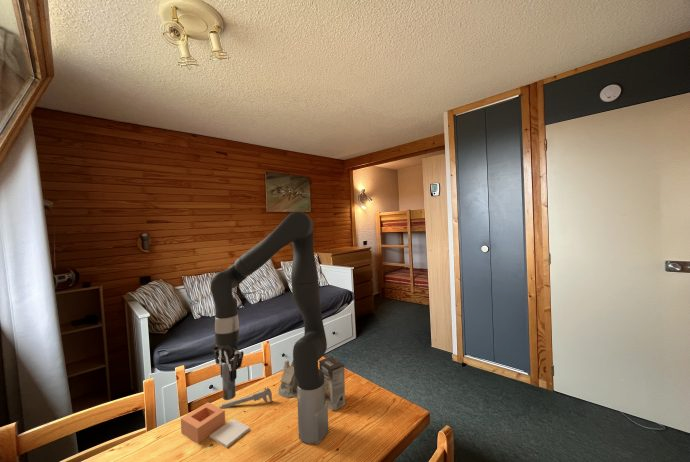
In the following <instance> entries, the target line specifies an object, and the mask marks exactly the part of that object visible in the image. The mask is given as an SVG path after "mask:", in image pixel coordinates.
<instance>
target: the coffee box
mask: <svg viewBox="0 0 690 462" xmlns="http://www.w3.org/2000/svg"><path fill="white" fill-rule="evenodd" d="M318 369H320V370H321V371H323V373H324V385H325V404H327V405H328V409H329V410H331V411H332V412H333V411H336V410H338V409H339V408H342V407H344V406H345V405H346V395H345V394H346V391H345V389H346V388H345V385H346V384H345V383H346V381H345V364H344V363H343V362H341V361H339V360H338V359H336V358H334V357H333V356H330V357H326V358H324V359H319V360H318Z"/></svg>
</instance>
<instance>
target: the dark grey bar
mask: <svg viewBox="0 0 690 462" xmlns="http://www.w3.org/2000/svg"><path fill="white" fill-rule="evenodd" d="M232 359H233V358H232ZM232 359H230V360H232ZM233 363H234V362H233ZM233 363H232V366H233ZM221 379H222V382H221V383H222V399H223V401H231V400H232V399H234V398H235V397H236V379H235V380H234V381H232V382H231V381H229V366H228V364H227V363H226V360H224V361H223V362H222V378H221Z"/></svg>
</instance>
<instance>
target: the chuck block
mask: <svg viewBox="0 0 690 462" xmlns="http://www.w3.org/2000/svg"><path fill="white" fill-rule="evenodd" d="M225 424H226V411H225V409H224V408H219V406H216V405H214V404H213V403H211V402H208V401H207V402H206V403H205V404H203V405H201V406H199V407H197V408H196V409H194V410H192V411H191V412H189V413H187V414H185V415H183V416H182V417H181V418H180V432H181V434H182V435H184V436H185V437H187V438H188V439H190V440H191V441H193V442H194V443H196V444H199V443H201V442H203V441H204V440H205V439H207V438H208V437H210V435H211V434H212V433H214V432H215V431H216V430H218V429H219V428H221V427H222V426H223V425H225Z"/></svg>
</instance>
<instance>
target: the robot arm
mask: <svg viewBox="0 0 690 462" xmlns="http://www.w3.org/2000/svg"><path fill="white" fill-rule="evenodd" d="M289 244H291V245H292V252H293V253H292V255H293V256H292V263H291V264H292V265H291V275H290V276H291V277H290V280H291V291H292V293H291V294H292V298H293V301H294V304H295V305H296V307H297V309H298V310H299V312H300V314H301V316H302V319H303V327H304V328H303V329H304V332H303V333H304V335H303V336H302V337H300V338H299V339H298V340H296V342H295V343H294V345H293V348H292V349H293V350H292V361H293V364H294V375H295V378H296V380H297V397H296V398H297V421H298V422H297V423H298V425H297V427H298V439H299V440H300V441H301V442H303V443H304V444H309V445H313V444H316V445H319V444H320V443H321V442H322V441H323V439H324V438H325V437H326V436H327V434H328V433H329V413H328V412H329V407H328V405H327V404H325V385H324V373H323V371H321V370H320V368H319V361H320V360H321V358H322V357H323V356H325V353H326V352H327V349H328V348H327V346H328V343H327V342H328V341H327V336H326V331H325V330H326V329H325V326H324V322H323V315H322V307H321V306H322V305H321V298H320V284H319V283H320V282H319V275H318V269H317V262H316V257H315V251H314V221H313V219H312V217H311V216H310V215H308V214H307V213H304V212H303V211H299V210H298V211H292V212H289V214H288V215H287V216H286V217H284V219H283V220H282V221H281V222H280V223H279V224H278V226H276V228H274V229H273V231H271V232H270V233H269V234H268V235H267V236H266V237H264V238H263V239H262V240H261V241H259V242H258V243H256V244H255V245H254V246H253V247H251V248H250V249H249V250H247V251H246V252H244V253H243V254H242V255H240V256H239V257H238V258H237V259H236V260H235V261H234V263H233V264H231V265H230V266H229V267H228V268H226V269H224V270H222V271H218V272H216V273H215V274H213V276H212V277H211V280H210V291H211V297H212V299H213V302H214V303H213V304H215V305H214V312H215V313H214V314H215V315H214V317H215V320H214V339H215V341H214V342H215V343H214V344H215V346H213V347H212V350H213V351H212V352H213V355H214V356H213V357H214V359H215V364H216V365H218V367H219V368H220V378H221V379H222V362H223V361H224V360H226V363H227V364H228V366H229V381H231V382H232V381H234V380H235V381H236V379H237V378H238V377H237V375H238V374H237V370H238V369H240V368H241V367H242V364H243V363H242V362H243V358H244V354H245V353H244V351H239V348H238V345H237V344H238V342H239V340H240V323H239V314H238V312H239V311H238V308H239V307H238V300H237V298H236V297H234V295H233V289H235V288H236V287H237V286H239V285H240V284H241V283H242V282H244V280H246V279H247V278H248V277H249V276H250V275H252V274H253V273H255V272H256V271H258V270H259V269H260V268H261V267H263V266H264V265H266V263H267V262H269V261H270V260H271V258H273V256H274V255H276V253H278V252H279V251H280V250H281V249H283V248H284V247H287V245H289ZM230 359H232V360H230ZM233 362H234V363H233ZM232 363H233V366H232Z"/></svg>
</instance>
